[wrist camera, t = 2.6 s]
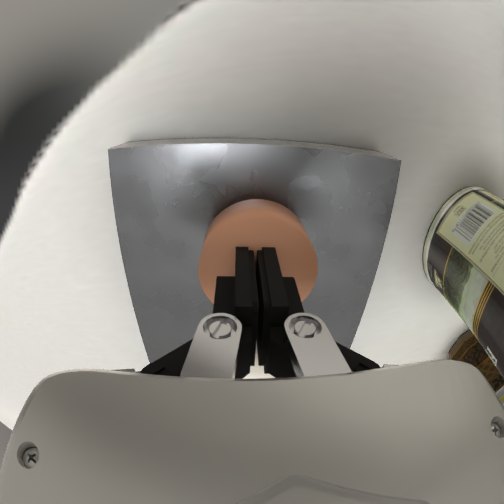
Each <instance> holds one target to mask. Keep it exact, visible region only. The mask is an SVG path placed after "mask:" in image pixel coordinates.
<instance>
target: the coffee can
mask: <svg viewBox="0 0 504 504" xmlns="http://www.w3.org/2000/svg"><path fill="white" fill-rule="evenodd" d="M423 265H424V271H425V274H426V276H427V278H428V280H429V281H430V282H431V283H432V284H433V285H434V286H435V287H436V288H437V289H438V290H439V291H440V293H441V294H442V295H443V296H444V297H445V298H446V300H447V301H448V302H449V303H450V305H451V306H452V307H453V308H454V309H455V311H456V312H457V313H458V314H459V316H460V317H461V318H462V320H463V321H464V322H465V323H466V325H467V326H468V328H469V329H470V330H471V332H472V333H473V334H474V336H475V337H476V338H477V340H478V341H479V343H480V344H481V346H482V347H483V348H484V350H485V351H486V353H487V354H488V355H489V357H490V359H491V360H492V362H493V363H494V365H495V366H496V368H497V369H498V371H499V372H500V374H501V376H502V377H503V379H504V200H502V199H500V198H498V197H497V196H495V195H493V194H491V193H490V192H489V191H487V190H486V189H484V188H482V187H477V186H473V187H467V188H464V189H462V190H460V191H458V192H457V193H456V194H455V195H453V196H452V197H451V198H450V199H449V200H448V201H447V202H446V203H445V204H444V205H443V207H442V208H441V209H440V211H439V212H438V214H437V215H436V217H435V219H434V221H433V223H432V224H431V226H430V229H429V233H428V235H427V238H426V242H425V245H424V252H423Z"/></svg>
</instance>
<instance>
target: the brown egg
mask: <svg viewBox="0 0 504 504" xmlns="http://www.w3.org/2000/svg"><path fill="white" fill-rule="evenodd" d="M236 247H248V250H253V252H254V262H255V272H256V258H257V250H262V247H275V249H276V253H277V257H278V261H279V265H280V269H281V273H282V277H294V279H295V282H296V285H297V288H298V292H299V295H300V299H301V302H302V301H303V300H304V299H305V298H306V297H307V296H308V295H309V293H310V292H311V290H312V288H313V286H314V284H315V282H316V278H317V273H318V261H317V256H316V253H315V250H314V248H313V246H312V244H311V241H310V239H309V237H308V235H307V233H306V231H305V229H304V227H303V225H302V223H301V222H300V220H299V219H298V217H297V216H296V215H295V214H294V213H293V212H292V211H291V210H289V209H288V208H286V207H285V206H283V205H281V204H279V203H276V202H273V201H269V200H263V199H250V200H244V201H241V202H237V203H235V204H233V205H231V206H229V207H227V208H226V209H224V210H223V211H222V212H220V213H219V214H218V215H217V216H216V217H215V218H214V220H213V221H212V223H211V224H210V226H209V228H208V230H207V233H206V237H205V240H204V244H203V248H202V252H201V256H200V260H199V266H198V274H199V280H200V284H201V287H202V289H203V291H204V293H205V294H206V296H207V297H208V298H209V300H210V301H211V302H212V303H213V304H214V296H215V287H216V278H217V276H235V252H236Z"/></svg>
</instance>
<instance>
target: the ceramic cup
mask: <svg viewBox="0 0 504 504" xmlns="http://www.w3.org/2000/svg"><path fill="white" fill-rule="evenodd" d="M449 353H450V360H455V361H462V362H465V363H468V364H471V365H473V366H474V367H476V368H477V369H478V370H479V371H480V372H481V373H482V374H483V376H484V377H485V378H486V379H487V381H488V382H489V384H490V385H491V387H492V388H493V390H494V391H495V393H496V395H497V396H498V398H499V400H500V402H501V403H502V404H503V403H504V379H503V377H502V376H501V374H500V372H499V371H498V369H497V368H496V366H495V365H494V363H493V362H492V360H491V359H490V357H489V355H488V354H487V353H486V351H485V350H484V348H483V347H482V346H481V344H480V343H479V341H478V340H477V338H476V337H475V336H474V334H473V333H472V332H471V330H470V329H469V330H468V331H467V332H465V333H464V334H462V335H461V336H460V337H459V339H458V340H457V341H456V343H455V344H454V346H453V347H452V348H451V350H450V351H449Z"/></svg>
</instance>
